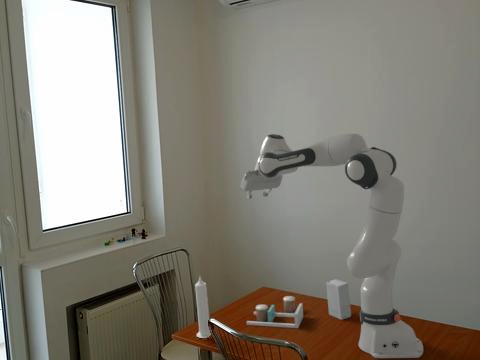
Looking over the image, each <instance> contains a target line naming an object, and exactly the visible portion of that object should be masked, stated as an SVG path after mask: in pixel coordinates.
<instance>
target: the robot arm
mask: <svg viewBox="0 0 480 360" xmlns="http://www.w3.org/2000/svg"><path fill="white" fill-rule="evenodd" d="M342 165H345V166H344V172H345V176H346V178H347V179H348V180H349V181H350V182H352V183H353V184H355V185H358V186H359V187H360V188H362V189H364V190H370V199H369V204H368V206H367V207H368V208H367V214H366V219H365V222H364V225H363V229H362V230H361V232H360V236H359V237H358V239H357V241H356V244H355V246H354V248H353V250H352V251H350V254H348V256H347V259H346V265H347V266H346V267H347V270H348V271H349V272H350V274H351V275H352V276H354V277H355V278H357V279H363V281H362V283H361V286H360V291H359V292H360V307H359V308H360V310H359V320H360V324H361V326H360V336H359V339H358V340H359V341H358V343H357V344H358V347H359V349H360V350H362V351H363V352H365V353H367V354H369V355H371V356H372V357H373V358H375V359H418V358H420V357H422V356H423V354H424V345H423V342H422V341H421V339H420V338H417V336H416V333H415V331H414V329H413V328H412V326H410V325H409V324H408V323H406V322H405V321H403V320H402V319H401V316H400V312H399V310H398V308H394V307H393V289H394V288H393V286H394V281H395V274H396V270H397V265H398V263H399V260H400V258H401V256H402V249H401V246H400V244H399V243H398V241H396V240H394V239H393V238H394V237H395V236H396V234H397V232H398V229H399V226H400V220H401V215H402V211H403V206H404V200H405V199H404V197H405V185H404V183H403V181H402V180H401V179H399V178H397V176H392V175H393V174H394V173H395V172H396V170H397V159H396V157H395V156H394V155H393V154H392V153H391V152H389V151H387V150H384V149H381V148H377V147H375V146H372V147H370V148H369V147H368V146H367V143H366V140H365V139H364V137H363V136H362V135H360V134H358V133H343V134H337V135H332V136H329V137H326V138H323V139H321V140H319V141H316V142H314V143H312V144H310V145H307V146H304V147H303V148H300V149H297V150H293V149H292V148H290V146H289V145H288V144H287V142H286V138H285V137H284V136H283V135H281V134H275V133H274V134H273V133H272V134H268V135H266V136H265V138H264V139H263V141H262V144H261V146H260V150H259V157H258V159H257V161H256V164H255V166H254V167H255V168H254V170H249V171H247V172H246V173H245V174H244V176H243V178H242V180H241V183H240V189H241V190H242V191H243V192H246V199H248V200H249V199H250V200H251V199H252V198H253V195H252V194H251V193H252V192H254V191H261V190H264V191H263V193H262V196H263V197H268V196H269V194H270V193H271V191H272V190H273V189H277V188H279V187H280V186H281V183H282V180H283V175H287V174H291V173H295V172H296V171H297V170H298V169H299V168H300V167H301V168H302V167H338V166H342Z"/></svg>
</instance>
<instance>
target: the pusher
mask: <svg viewBox="0 0 480 360" xmlns="http://www.w3.org/2000/svg"><path fill="white" fill-rule="evenodd" d="M268 308H269V309H268V312H267V314H268V321H267V322H272V323H273V322H274V319H275V317H279V316H278V313H279V312H276V307H275V304H271V305H270V307H268Z"/></svg>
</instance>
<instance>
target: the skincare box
mask: <svg viewBox="0 0 480 360" xmlns="http://www.w3.org/2000/svg"><path fill="white" fill-rule="evenodd" d="M325 284H326V285H325V286H326V296H327V305H328V307H327V308H328V315H329V316H332V317H334V318H336V319H338V320H341V321H342V320H344V319H348V318H351V317H352V309H351V300H350V292H349V291H350V290H349V282H346V281H343V280H340V279H336V278H335V279H333V280H332V279H331V280H330V281H329V280H328V281H326V282H325Z"/></svg>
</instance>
